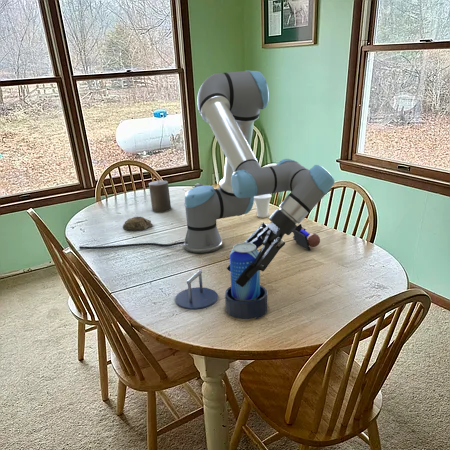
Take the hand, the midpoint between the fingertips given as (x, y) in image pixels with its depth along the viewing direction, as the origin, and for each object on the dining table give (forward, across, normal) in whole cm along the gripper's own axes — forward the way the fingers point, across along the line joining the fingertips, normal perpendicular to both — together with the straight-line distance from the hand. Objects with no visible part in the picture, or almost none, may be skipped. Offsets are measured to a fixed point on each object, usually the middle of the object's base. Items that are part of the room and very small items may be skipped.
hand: (234, 277), depth 126 cm
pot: (+6, 0, -10) cm, 12 cm away
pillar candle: (+14, +112, -4) cm, 113 cm away
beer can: (+3, 0, -8) cm, 8 cm away
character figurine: (-20, +40, -36) cm, 57 cm away
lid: (+15, +11, -1) cm, 18 cm away
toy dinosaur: (-1, +116, -19) cm, 117 cm away
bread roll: (+23, +89, +6) cm, 92 cm away
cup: (-17, +81, -34) cm, 90 cm away
